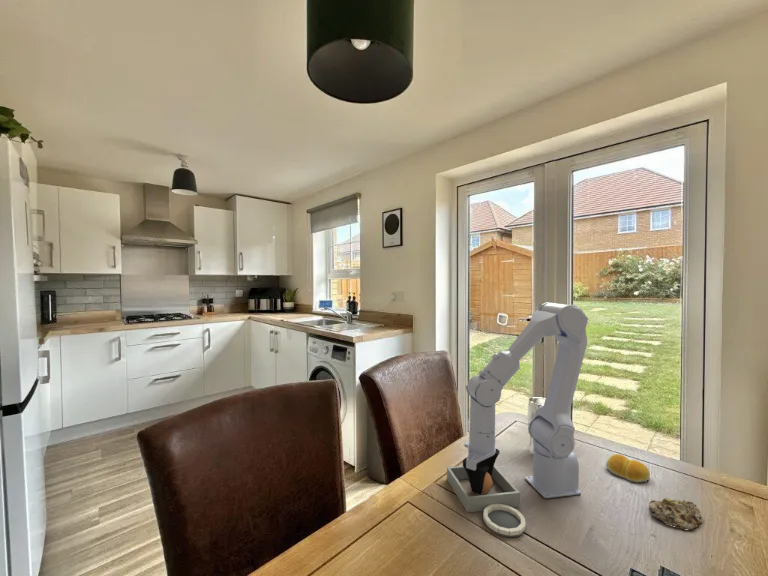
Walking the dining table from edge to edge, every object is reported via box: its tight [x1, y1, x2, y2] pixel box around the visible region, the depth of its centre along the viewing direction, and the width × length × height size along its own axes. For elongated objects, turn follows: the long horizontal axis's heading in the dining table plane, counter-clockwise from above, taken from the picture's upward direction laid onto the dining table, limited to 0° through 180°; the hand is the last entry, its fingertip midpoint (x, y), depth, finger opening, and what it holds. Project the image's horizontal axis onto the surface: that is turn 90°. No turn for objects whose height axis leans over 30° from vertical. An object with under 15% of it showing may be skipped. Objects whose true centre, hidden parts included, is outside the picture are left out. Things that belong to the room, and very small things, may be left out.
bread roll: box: [605, 453, 651, 483], centre depth 88 cm, size 8×9×4 cm
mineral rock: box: [648, 497, 703, 531], centre depth 72 cm, size 11×4×8 cm
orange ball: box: [481, 472, 493, 495], centre depth 80 cm, size 5×5×5 cm
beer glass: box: [527, 396, 546, 455], centre depth 98 cm, size 7×7×15 cm
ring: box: [482, 504, 526, 538], centre depth 70 cm, size 8×8×1 cm
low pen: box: [446, 464, 521, 513], centre depth 80 cm, size 12×12×3 cm
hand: (481, 485), depth 80 cm, fingers open, 6 cm apart
